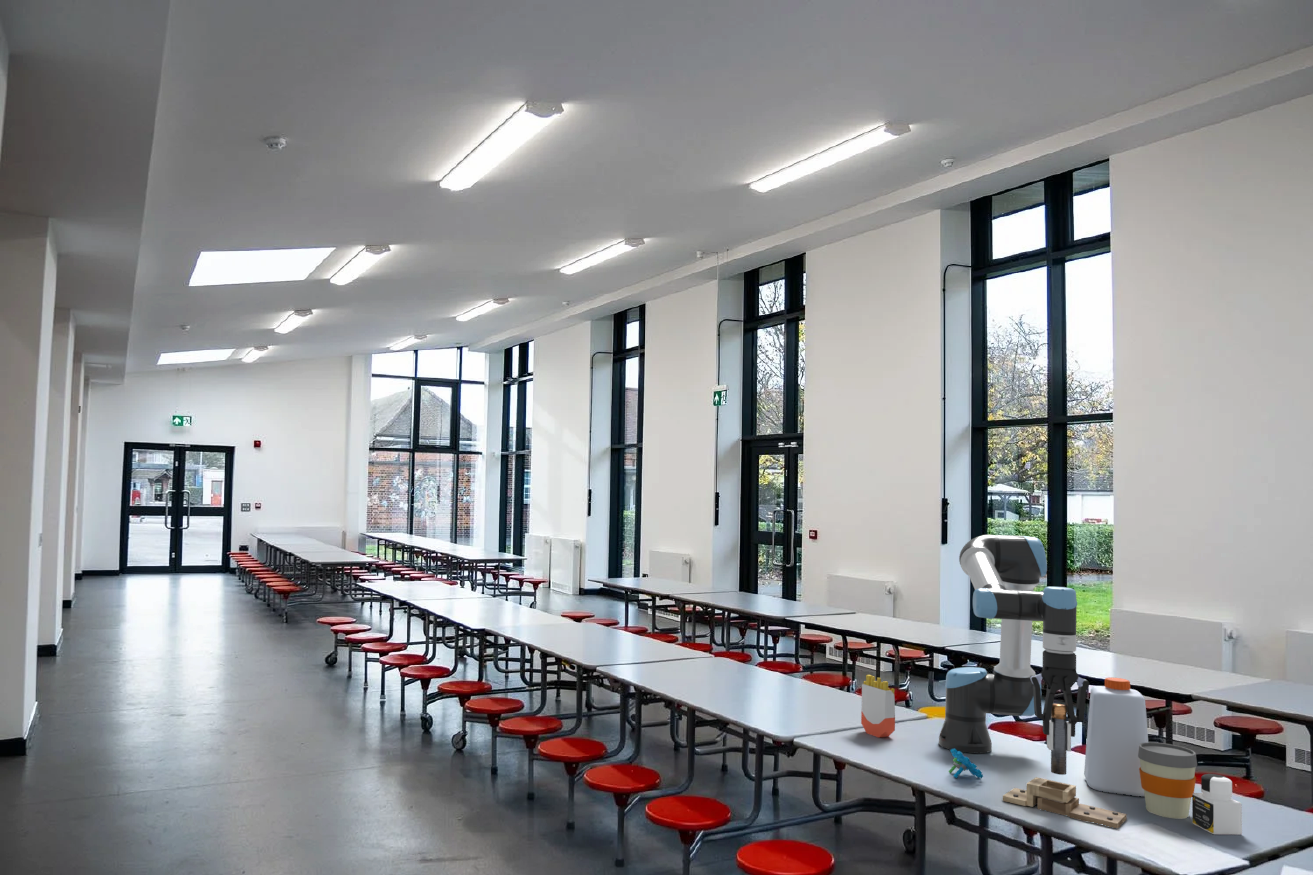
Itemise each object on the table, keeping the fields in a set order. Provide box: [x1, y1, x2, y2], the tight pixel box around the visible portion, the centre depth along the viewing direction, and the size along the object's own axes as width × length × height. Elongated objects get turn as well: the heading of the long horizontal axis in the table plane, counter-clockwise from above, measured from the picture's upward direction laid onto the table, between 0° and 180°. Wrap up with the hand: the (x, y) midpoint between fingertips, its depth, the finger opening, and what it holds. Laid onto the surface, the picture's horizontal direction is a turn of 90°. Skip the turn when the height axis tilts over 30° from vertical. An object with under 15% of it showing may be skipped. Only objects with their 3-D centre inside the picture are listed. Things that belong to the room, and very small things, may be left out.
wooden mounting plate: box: [1037, 796, 1128, 830], centre depth 214 cm, size 9×18×3 cm, turn 50°
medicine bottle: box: [1191, 773, 1243, 836], centre depth 207 cm, size 7×7×12 cm
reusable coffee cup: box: [1138, 742, 1198, 820], centre depth 218 cm, size 13×13×15 cm
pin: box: [1050, 703, 1068, 776], centre depth 218 cm, size 3×3×16 cm
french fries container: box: [860, 674, 896, 739], centre depth 283 cm, size 5×11×18 cm, turn 28°
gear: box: [948, 748, 984, 780], centre depth 240 cm, size 11×6×10 cm
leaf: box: [1002, 776, 1077, 808], centre depth 220 cm, size 9×15×5 cm, turn 50°
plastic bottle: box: [1083, 677, 1149, 798], centre depth 238 cm, size 15×15×28 cm
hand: (1058, 748), depth 218 cm, fingers closed on pin, 3 cm apart
